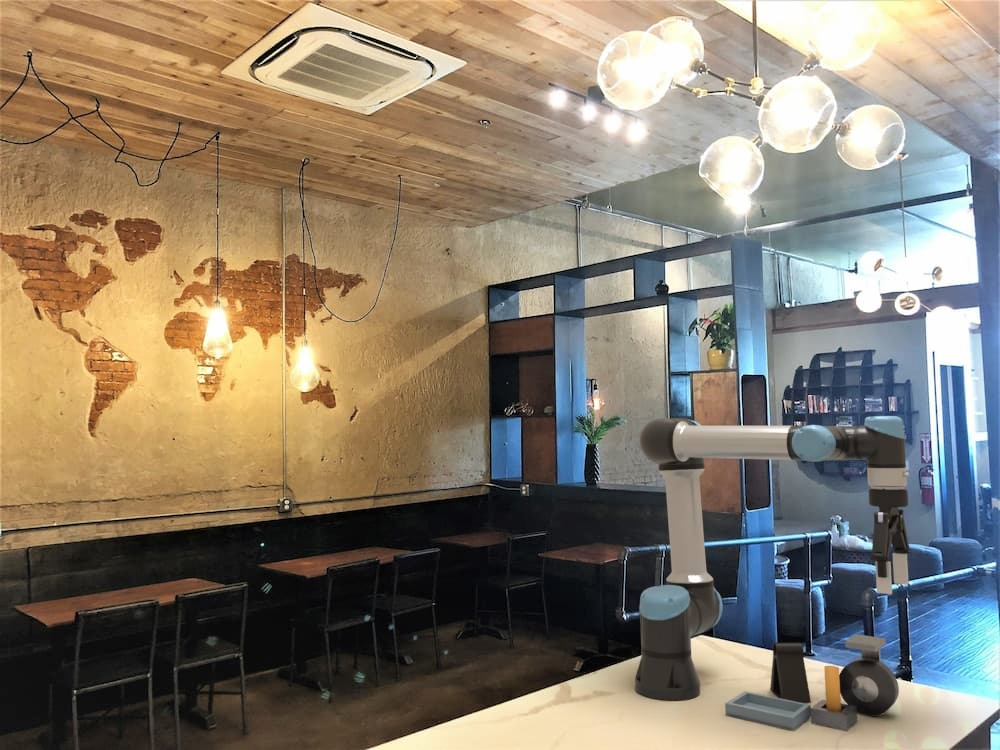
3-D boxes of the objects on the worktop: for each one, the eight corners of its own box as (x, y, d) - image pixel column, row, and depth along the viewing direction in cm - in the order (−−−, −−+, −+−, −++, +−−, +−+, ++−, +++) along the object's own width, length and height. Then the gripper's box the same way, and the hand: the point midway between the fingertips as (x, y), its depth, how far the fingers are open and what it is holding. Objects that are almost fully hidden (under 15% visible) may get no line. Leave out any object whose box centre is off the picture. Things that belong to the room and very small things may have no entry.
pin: (825, 722, 157) (822, 667, 158) (829, 718, 159) (826, 665, 160) (839, 725, 155) (836, 670, 156) (843, 721, 157) (840, 667, 158)
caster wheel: (836, 712, 163) (833, 639, 164) (848, 702, 169) (844, 632, 170) (892, 723, 155) (888, 647, 157) (902, 713, 162) (898, 640, 163)
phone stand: (810, 703, 169) (808, 648, 170) (783, 703, 169) (781, 648, 170) (796, 690, 178) (793, 638, 179) (770, 690, 178) (767, 638, 179)
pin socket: (811, 723, 156) (810, 708, 157) (822, 713, 162) (821, 699, 162) (847, 731, 152) (846, 715, 152) (857, 721, 157) (856, 706, 157)
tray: (725, 715, 162) (725, 703, 162) (745, 702, 169) (745, 691, 170) (793, 731, 152) (792, 718, 152) (811, 716, 160) (810, 704, 160)
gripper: (891, 491, 151) (897, 600, 149) (920, 485, 169) (926, 582, 167) (851, 490, 155) (856, 595, 154) (884, 484, 174) (889, 578, 172)
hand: (893, 588), depth 160 cm, fingers open, 13 cm apart
